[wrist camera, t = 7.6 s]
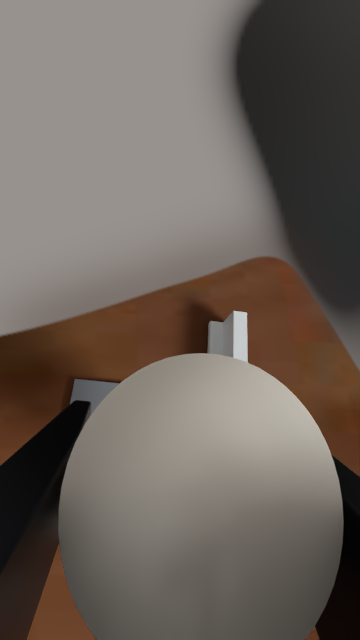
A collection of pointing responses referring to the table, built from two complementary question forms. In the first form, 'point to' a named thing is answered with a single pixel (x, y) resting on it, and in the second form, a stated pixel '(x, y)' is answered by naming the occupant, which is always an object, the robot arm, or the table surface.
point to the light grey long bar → (229, 336)
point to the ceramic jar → (200, 507)
